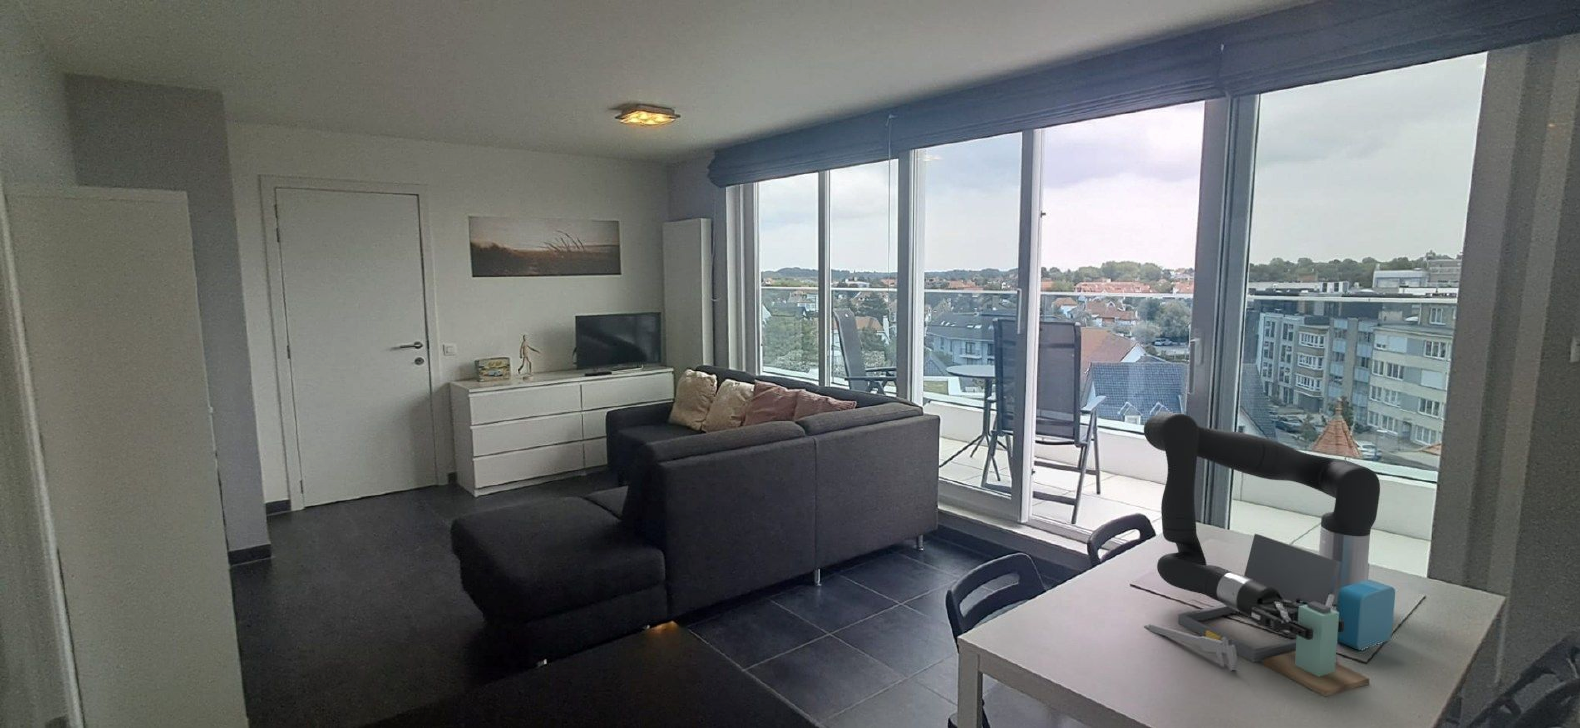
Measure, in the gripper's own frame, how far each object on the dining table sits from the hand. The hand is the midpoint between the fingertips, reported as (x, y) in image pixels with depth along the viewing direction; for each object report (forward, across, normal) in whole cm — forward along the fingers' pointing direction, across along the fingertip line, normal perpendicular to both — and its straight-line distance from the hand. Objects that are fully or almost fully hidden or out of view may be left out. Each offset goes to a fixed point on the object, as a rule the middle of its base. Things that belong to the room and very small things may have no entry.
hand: (1327, 631), depth 136 cm
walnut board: (-2, 0, +10) cm, 10 cm away
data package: (-7, +22, +10) cm, 25 cm away
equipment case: (-17, +4, +10) cm, 20 cm away
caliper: (-18, -14, +10) cm, 25 cm away
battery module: (-2, 0, +8) cm, 9 cm away
